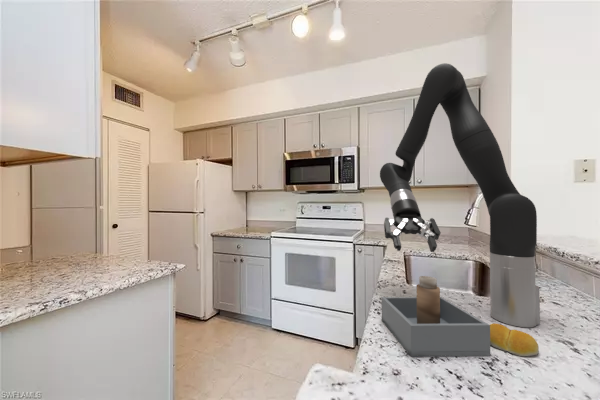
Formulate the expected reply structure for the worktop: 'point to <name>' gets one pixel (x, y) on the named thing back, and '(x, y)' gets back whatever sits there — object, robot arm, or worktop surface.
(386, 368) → the worktop surface
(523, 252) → the robot arm
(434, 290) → the pepper mill
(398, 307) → the bin
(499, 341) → the bread roll
